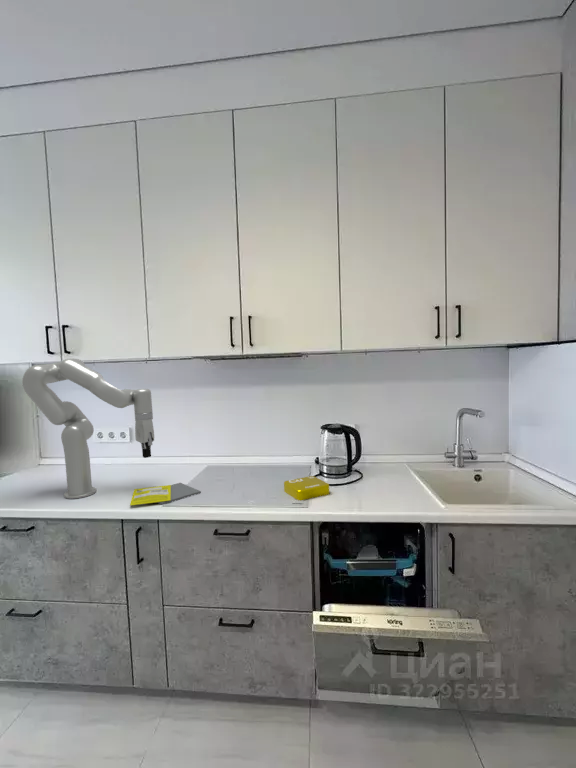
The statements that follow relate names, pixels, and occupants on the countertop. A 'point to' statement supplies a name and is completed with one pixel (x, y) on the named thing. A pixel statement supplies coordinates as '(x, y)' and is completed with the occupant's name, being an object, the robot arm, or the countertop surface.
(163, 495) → the food package
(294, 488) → the element tile
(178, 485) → the mat
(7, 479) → the countertop surface
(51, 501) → the countertop surface
